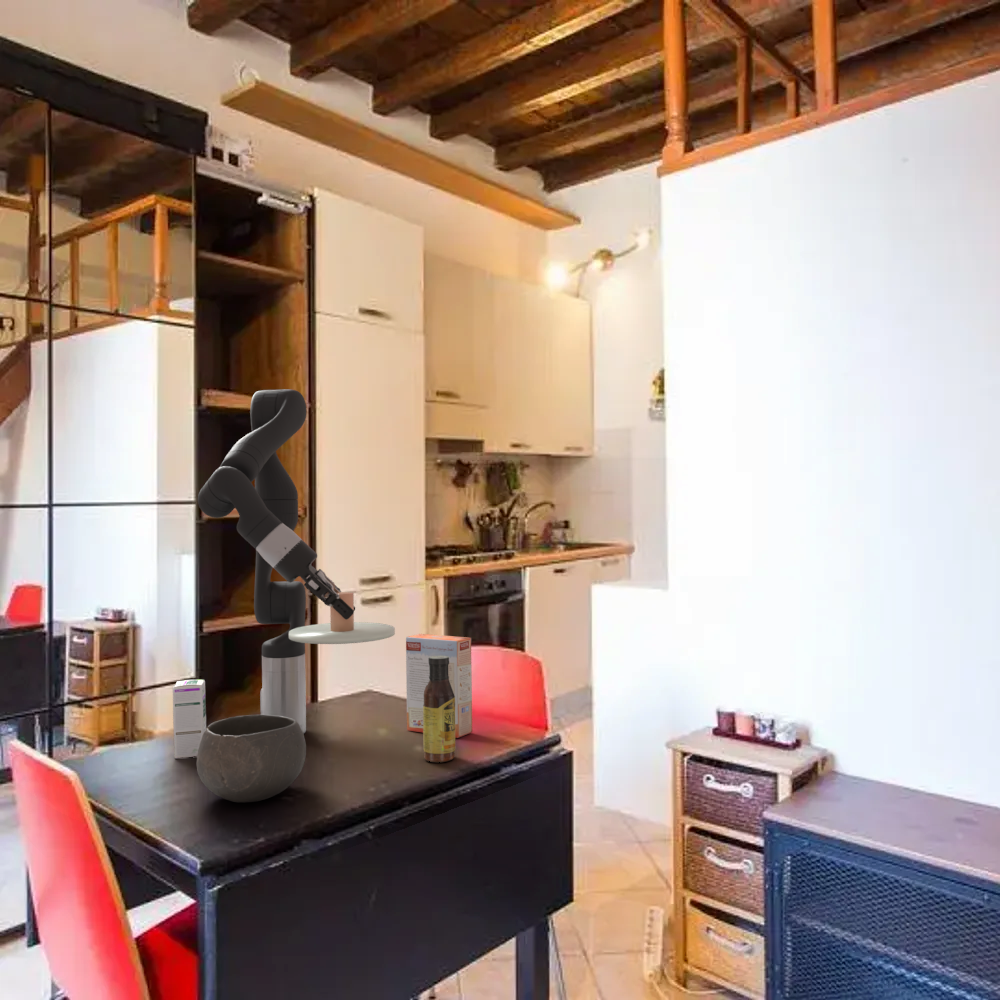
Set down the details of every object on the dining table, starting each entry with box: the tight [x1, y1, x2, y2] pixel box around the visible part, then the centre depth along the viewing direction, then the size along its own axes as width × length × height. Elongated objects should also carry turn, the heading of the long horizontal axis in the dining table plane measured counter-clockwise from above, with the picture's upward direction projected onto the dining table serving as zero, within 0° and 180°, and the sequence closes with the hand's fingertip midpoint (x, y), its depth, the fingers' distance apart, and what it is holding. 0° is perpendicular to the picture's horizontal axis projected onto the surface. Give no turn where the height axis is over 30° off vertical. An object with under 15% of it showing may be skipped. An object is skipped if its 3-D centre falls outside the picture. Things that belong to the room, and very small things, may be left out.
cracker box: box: [405, 633, 473, 739], centre depth 183 cm, size 14×6×21 cm, turn 58°
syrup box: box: [171, 679, 207, 759], centre depth 169 cm, size 6×6×14 cm
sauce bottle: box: [422, 656, 456, 763], centre depth 164 cm, size 7×6×20 cm
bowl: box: [196, 714, 307, 803], centre depth 144 cm, size 18×18×13 cm
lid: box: [289, 591, 396, 645], centre depth 161 cm, size 20×20×8 cm
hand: (351, 613), depth 161 cm, fingers closed on lid, 4 cm apart
